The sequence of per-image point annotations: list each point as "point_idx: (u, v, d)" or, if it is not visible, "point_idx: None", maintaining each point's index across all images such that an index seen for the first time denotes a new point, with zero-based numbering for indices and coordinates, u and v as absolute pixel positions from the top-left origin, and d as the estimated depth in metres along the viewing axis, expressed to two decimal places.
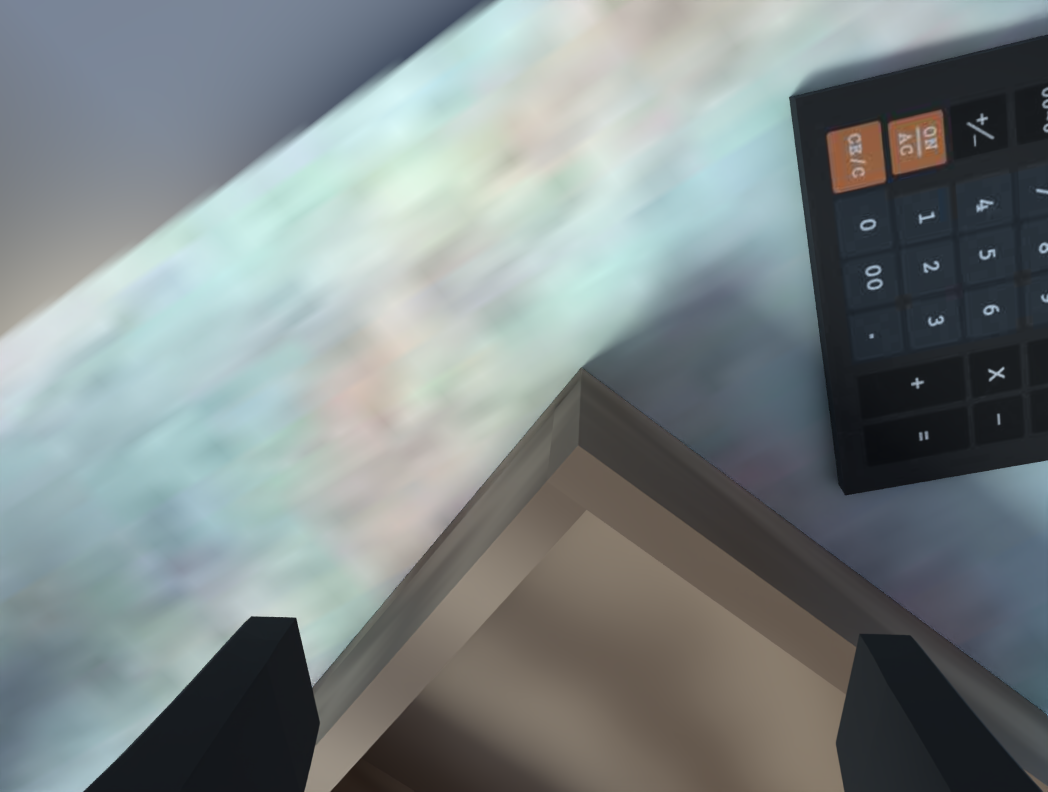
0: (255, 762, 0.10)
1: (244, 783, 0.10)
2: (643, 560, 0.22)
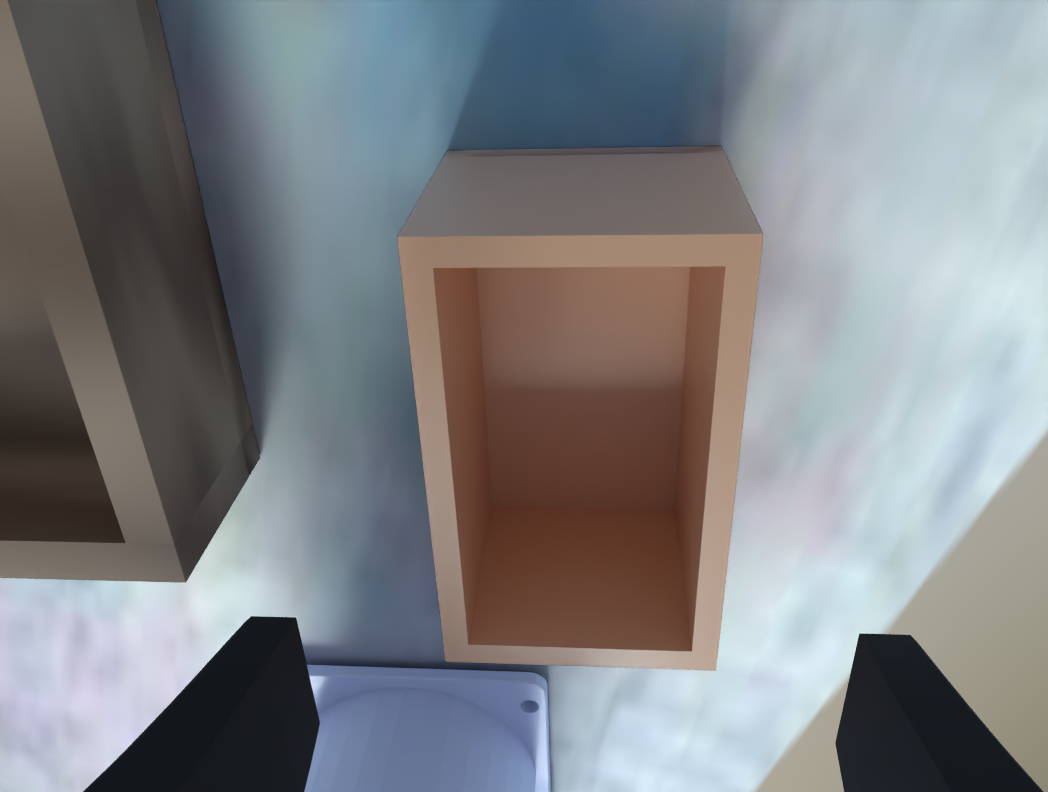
0: (255, 762, 0.10)
1: (244, 783, 0.10)
2: None
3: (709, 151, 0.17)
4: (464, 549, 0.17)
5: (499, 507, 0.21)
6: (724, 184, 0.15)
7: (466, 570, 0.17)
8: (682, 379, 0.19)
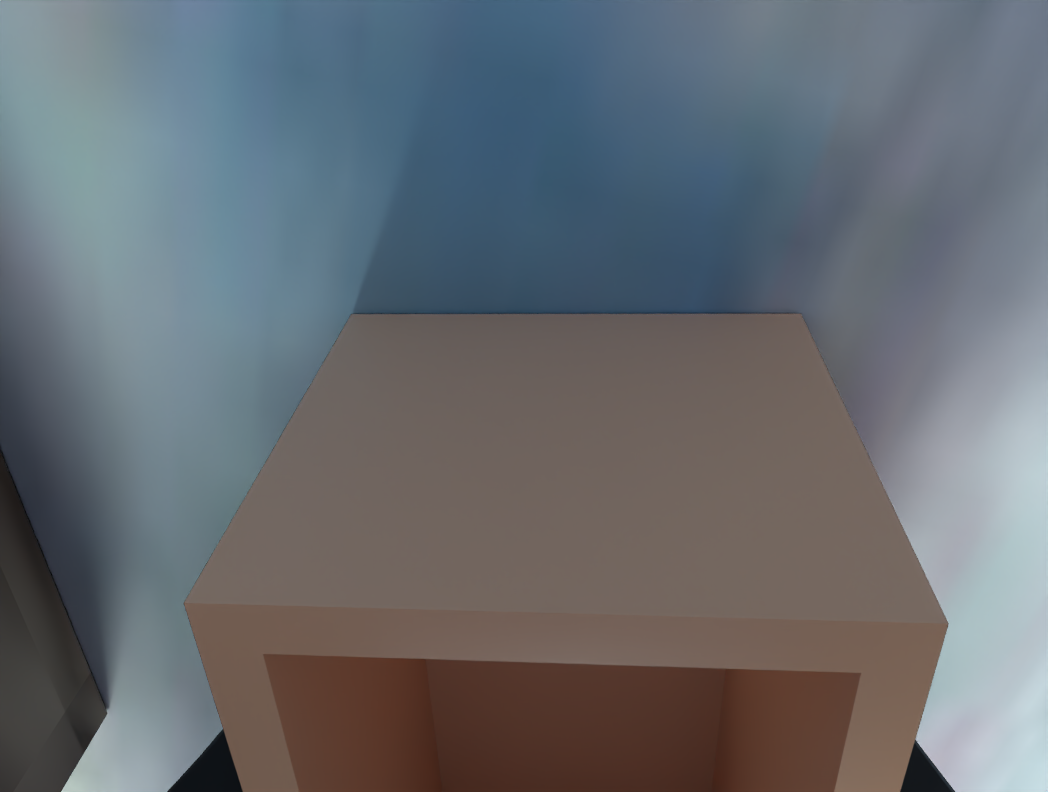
0: None
1: None
2: None
3: (783, 326, 0.10)
4: None
5: None
6: (828, 430, 0.08)
7: None
8: None
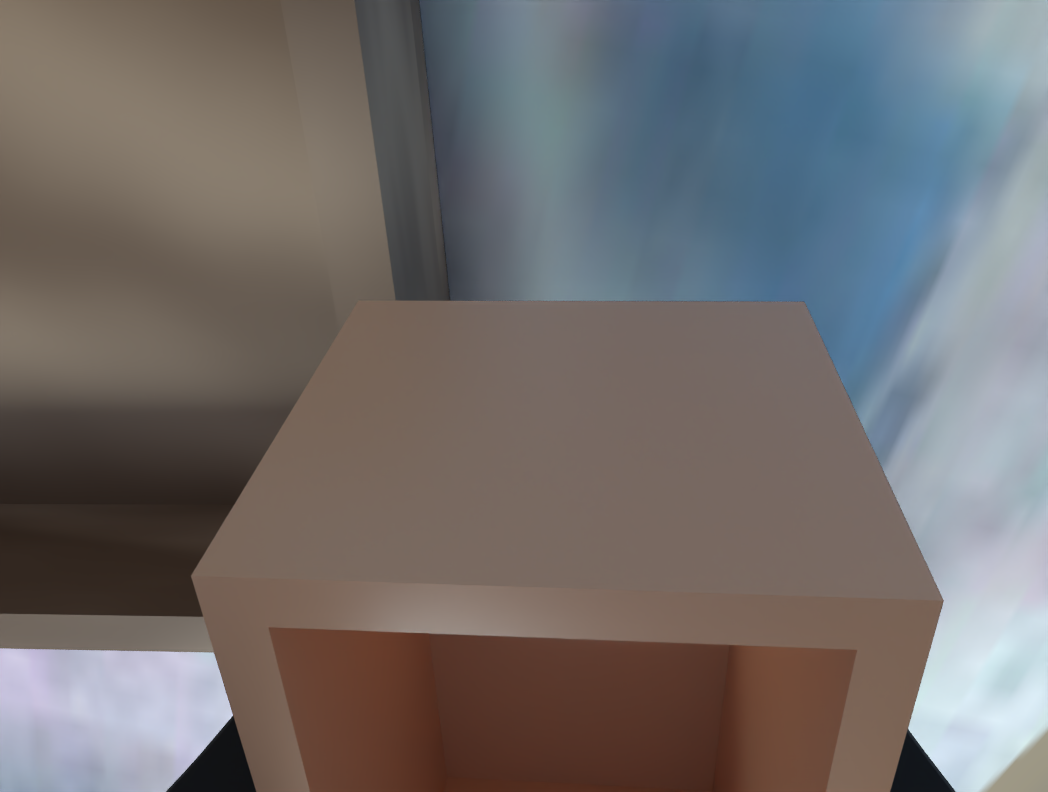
0: None
1: None
2: None
3: (786, 314, 0.10)
4: None
5: (457, 780, 0.15)
6: (829, 414, 0.08)
7: None
8: None
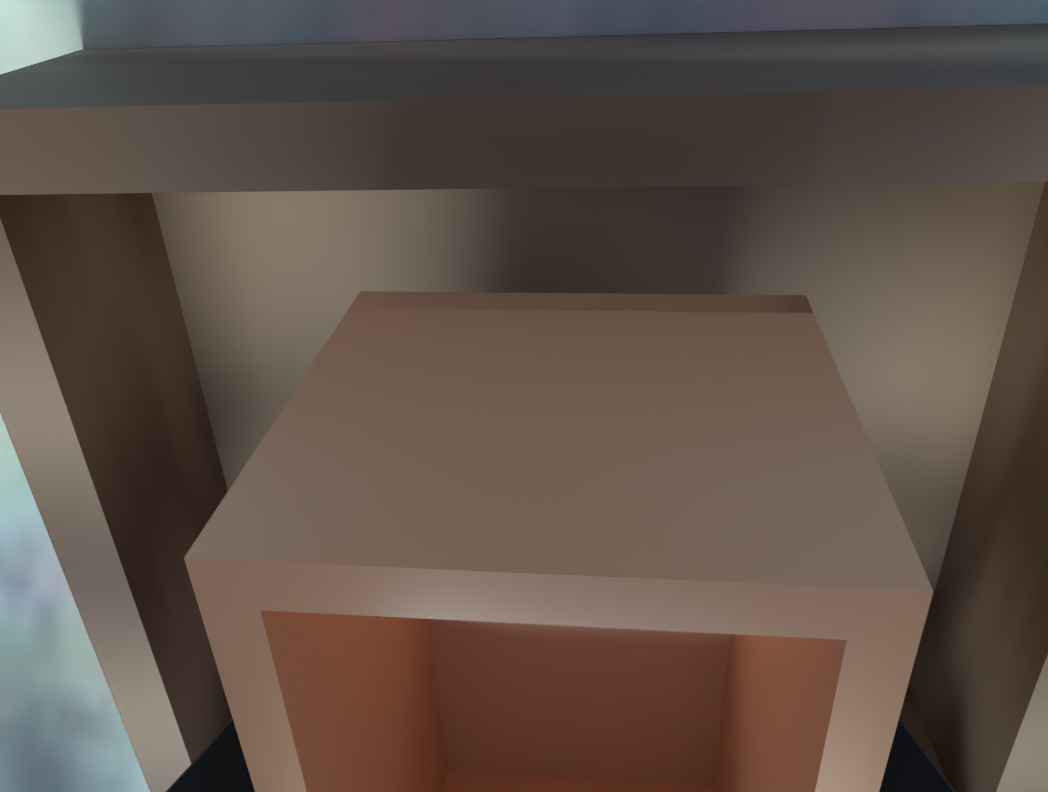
0: None
1: None
2: (352, 234, 0.14)
3: (786, 308, 0.10)
4: None
5: (457, 772, 0.15)
6: (825, 406, 0.08)
7: None
8: None
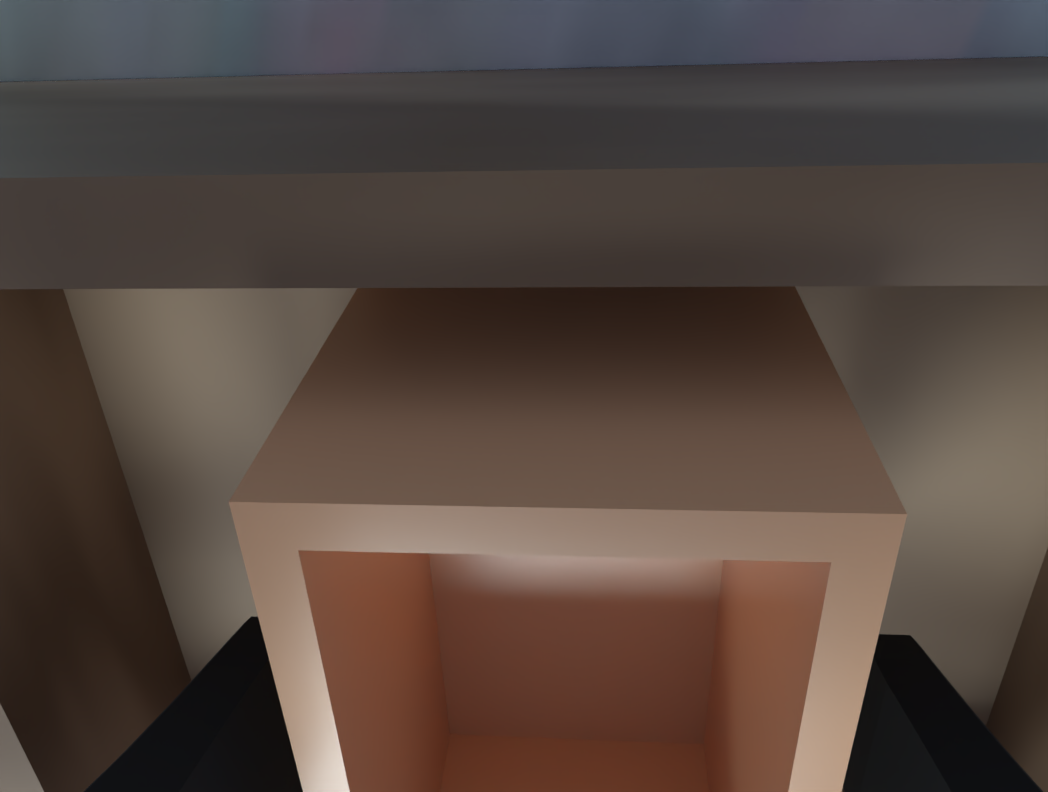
0: (255, 762, 0.10)
1: (244, 783, 0.10)
2: (297, 305, 0.12)
3: None
4: None
5: (459, 737, 0.15)
6: (807, 364, 0.09)
7: None
8: (719, 588, 0.13)
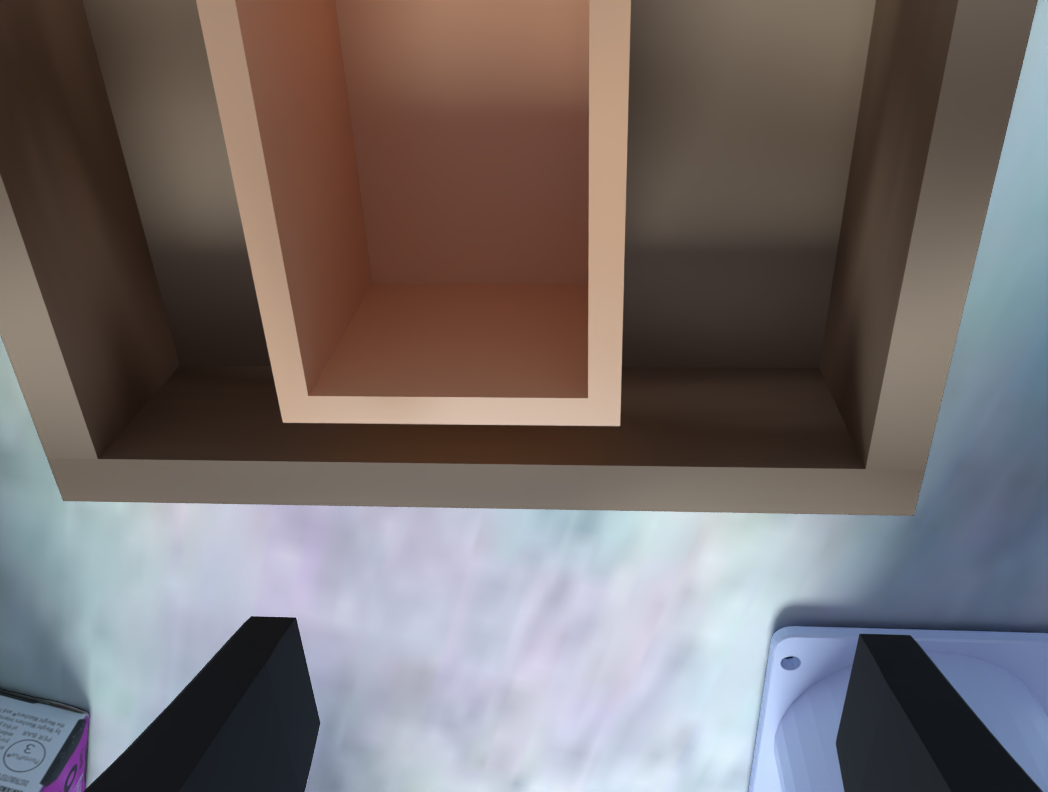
0: (255, 762, 0.10)
1: (244, 784, 0.10)
2: None
3: None
4: (296, 264, 0.13)
5: (380, 284, 0.17)
6: None
7: (301, 295, 0.13)
8: None
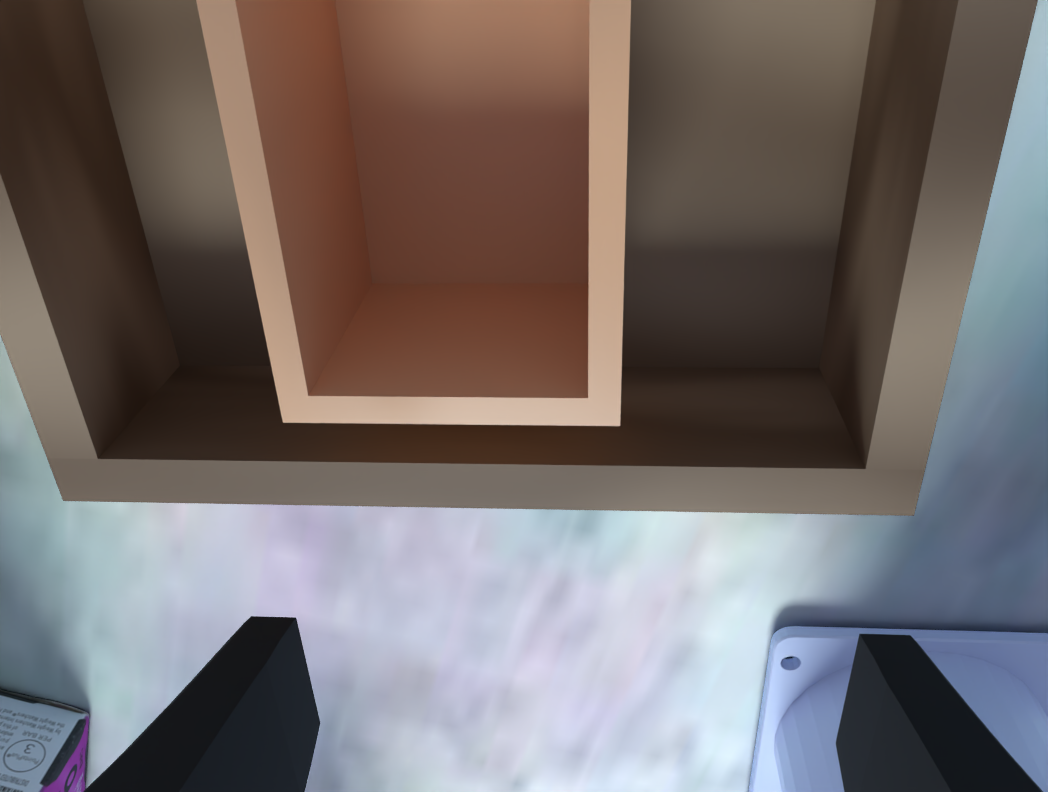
0: (255, 762, 0.10)
1: (244, 783, 0.10)
2: None
3: None
4: (297, 264, 0.13)
5: (380, 284, 0.17)
6: None
7: (302, 295, 0.13)
8: None
